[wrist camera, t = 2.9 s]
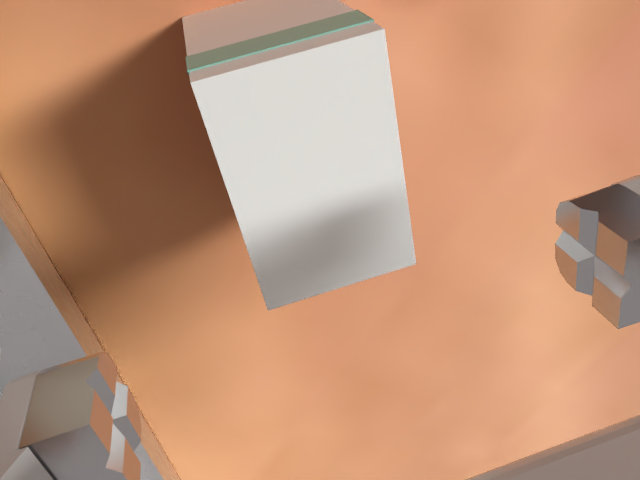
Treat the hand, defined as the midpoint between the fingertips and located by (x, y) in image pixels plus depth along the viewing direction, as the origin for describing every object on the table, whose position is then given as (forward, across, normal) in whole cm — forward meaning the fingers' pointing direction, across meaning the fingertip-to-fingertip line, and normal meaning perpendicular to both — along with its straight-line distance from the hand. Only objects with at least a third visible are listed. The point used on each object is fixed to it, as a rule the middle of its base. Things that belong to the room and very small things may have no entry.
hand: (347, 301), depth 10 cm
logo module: (+11, -1, 0) cm, 11 cm away
